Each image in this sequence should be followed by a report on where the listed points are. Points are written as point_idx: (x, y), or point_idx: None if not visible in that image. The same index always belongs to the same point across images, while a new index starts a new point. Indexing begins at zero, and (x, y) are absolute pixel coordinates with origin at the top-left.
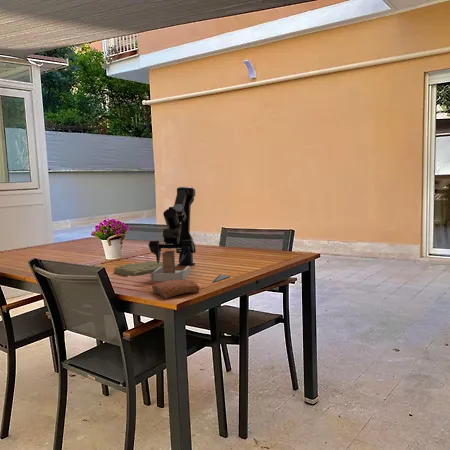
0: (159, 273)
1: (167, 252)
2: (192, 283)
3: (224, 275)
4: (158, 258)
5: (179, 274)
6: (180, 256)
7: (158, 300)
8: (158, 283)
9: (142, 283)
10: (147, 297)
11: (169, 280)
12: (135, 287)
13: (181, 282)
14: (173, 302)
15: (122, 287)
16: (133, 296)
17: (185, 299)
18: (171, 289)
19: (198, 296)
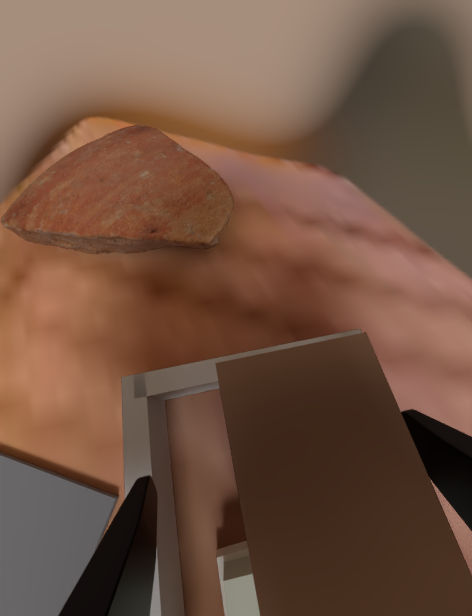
0: (298, 343)
1: (337, 459)
2: (20, 200)
3: None
4: (450, 449)
5: (148, 374)
6: (104, 573)
7: None
8: (195, 176)
9: (375, 335)
10: (211, 156)
11: (152, 206)
12: (349, 259)
13: (69, 168)
14: (99, 127)
15: (406, 251)
16: (267, 159)
17: (65, 154)
18: (108, 134)
19: (18, 186)
